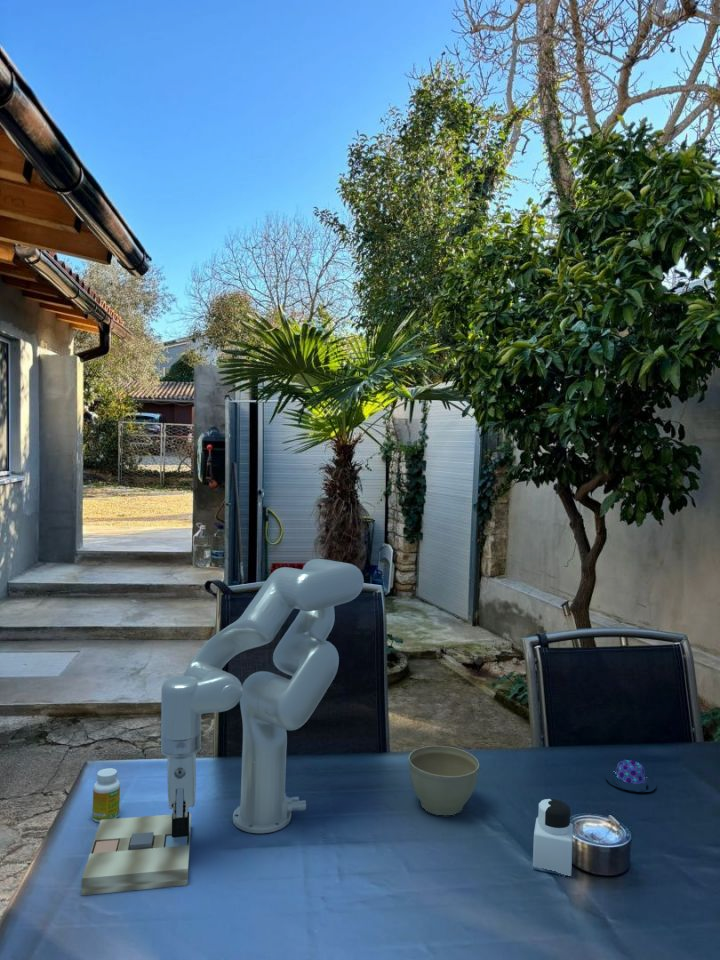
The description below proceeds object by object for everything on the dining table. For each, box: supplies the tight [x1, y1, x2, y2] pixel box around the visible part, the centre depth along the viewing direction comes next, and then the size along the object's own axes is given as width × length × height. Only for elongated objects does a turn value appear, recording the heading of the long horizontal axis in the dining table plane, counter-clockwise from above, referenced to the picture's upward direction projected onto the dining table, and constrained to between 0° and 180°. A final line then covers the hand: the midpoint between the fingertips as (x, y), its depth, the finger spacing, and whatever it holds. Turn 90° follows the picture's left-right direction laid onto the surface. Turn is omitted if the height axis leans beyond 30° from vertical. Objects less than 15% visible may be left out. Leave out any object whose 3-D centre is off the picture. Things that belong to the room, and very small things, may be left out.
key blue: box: [165, 836, 187, 847], centre depth 128 cm, size 4×4×2 cm
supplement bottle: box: [91, 767, 121, 824], centre depth 141 cm, size 5×5×10 cm
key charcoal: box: [130, 832, 154, 850], centre depth 126 cm, size 4×4×2 cm
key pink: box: [93, 840, 119, 853], centre depth 125 cm, size 4×4×2 cm
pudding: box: [614, 759, 647, 784], centre depth 166 cm, size 12×12×5 cm
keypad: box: [80, 812, 192, 896], centre depth 126 cm, size 18×20×3 cm
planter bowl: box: [408, 745, 480, 816], centre depth 150 cm, size 16×16×11 cm
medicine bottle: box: [532, 798, 574, 877], centre depth 129 cm, size 7×7×12 cm
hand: (180, 834), depth 128 cm, fingers closed
